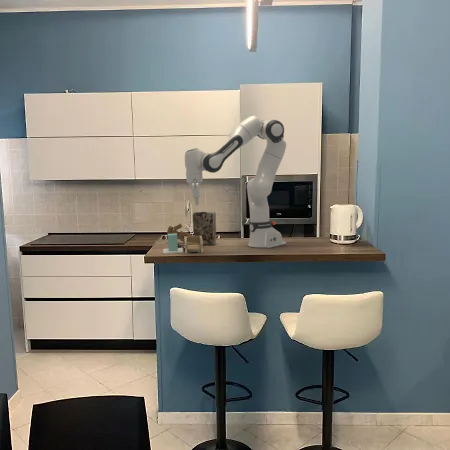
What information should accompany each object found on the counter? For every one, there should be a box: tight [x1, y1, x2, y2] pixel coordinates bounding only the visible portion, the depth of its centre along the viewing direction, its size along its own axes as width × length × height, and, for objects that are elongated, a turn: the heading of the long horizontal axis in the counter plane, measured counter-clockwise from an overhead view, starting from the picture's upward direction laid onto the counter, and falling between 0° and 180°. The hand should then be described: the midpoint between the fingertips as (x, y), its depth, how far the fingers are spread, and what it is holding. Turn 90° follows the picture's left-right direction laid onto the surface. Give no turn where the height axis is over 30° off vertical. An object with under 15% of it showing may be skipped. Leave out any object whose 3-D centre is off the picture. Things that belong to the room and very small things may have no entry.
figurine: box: [166, 223, 193, 243], centre depth 294 cm, size 13×2×15 cm
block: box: [167, 233, 179, 251], centre depth 269 cm, size 5×5×9 cm
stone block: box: [192, 210, 217, 246], centre depth 286 cm, size 13×7×20 cm, turn 77°
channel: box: [183, 235, 204, 255], centre depth 268 cm, size 18×10×7 cm, turn 5°
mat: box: [162, 247, 184, 255], centre depth 269 cm, size 11×11×1 cm
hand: (196, 204), depth 261 cm, fingers open, 8 cm apart
